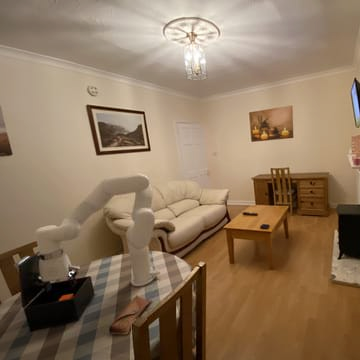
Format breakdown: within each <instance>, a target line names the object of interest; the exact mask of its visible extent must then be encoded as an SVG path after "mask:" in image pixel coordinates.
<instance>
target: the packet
mask: <svg viewBox="0 0 360 360" xmlns="http://www.w3.org/2000/svg"><path fill="white" fill-rule="evenodd" d="M73 297H74V295H73V294H68V295H63V296H62V297H61V298H60V299H59V300H58V301H61V300H66V299H71V298H73Z"/></svg>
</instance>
